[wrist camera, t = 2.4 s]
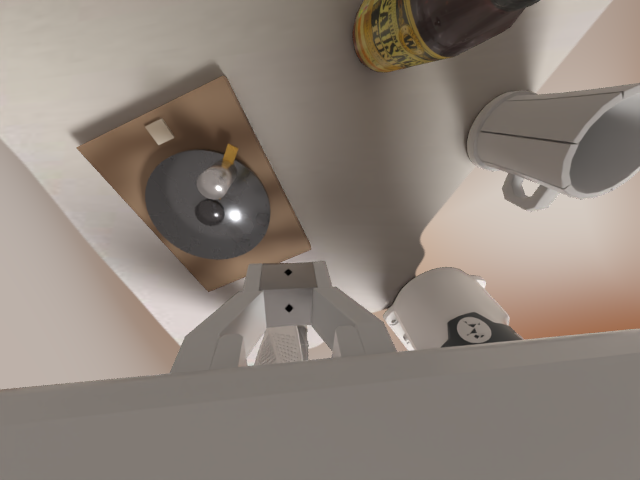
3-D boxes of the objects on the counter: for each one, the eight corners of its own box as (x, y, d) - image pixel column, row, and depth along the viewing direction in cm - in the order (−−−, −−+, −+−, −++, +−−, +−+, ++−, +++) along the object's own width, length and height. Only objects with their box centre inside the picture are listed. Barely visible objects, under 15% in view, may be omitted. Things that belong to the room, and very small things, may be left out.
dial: (248, 267, 32) (241, 300, 26) (140, 233, 27) (105, 264, 22) (293, 172, 26) (295, 189, 21) (166, 110, 22) (128, 111, 16)
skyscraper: (260, 338, 42) (230, 654, 18) (249, 306, 38) (189, 661, 14) (307, 329, 42) (339, 625, 18) (301, 297, 38) (331, 623, 14)
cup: (537, 155, 31) (661, 180, 21) (472, 192, 33) (559, 231, 22) (531, 73, 26) (692, 51, 16) (455, 120, 28) (558, 129, 17)
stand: (310, 243, 33) (311, 250, 32) (211, 285, 34) (207, 293, 33) (226, 77, 23) (222, 75, 21) (87, 145, 24) (73, 148, 22)
